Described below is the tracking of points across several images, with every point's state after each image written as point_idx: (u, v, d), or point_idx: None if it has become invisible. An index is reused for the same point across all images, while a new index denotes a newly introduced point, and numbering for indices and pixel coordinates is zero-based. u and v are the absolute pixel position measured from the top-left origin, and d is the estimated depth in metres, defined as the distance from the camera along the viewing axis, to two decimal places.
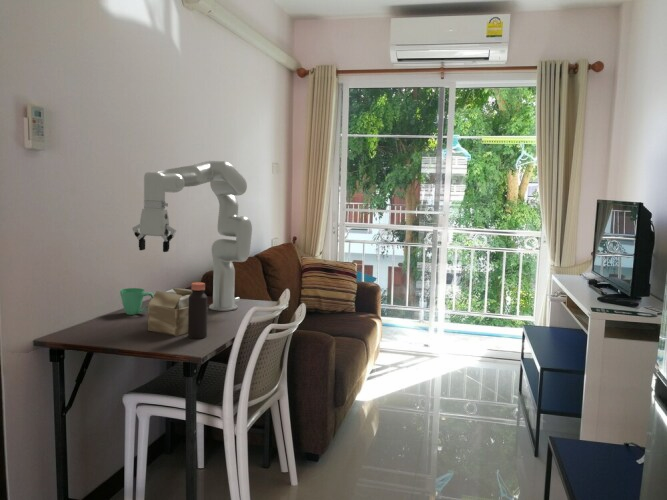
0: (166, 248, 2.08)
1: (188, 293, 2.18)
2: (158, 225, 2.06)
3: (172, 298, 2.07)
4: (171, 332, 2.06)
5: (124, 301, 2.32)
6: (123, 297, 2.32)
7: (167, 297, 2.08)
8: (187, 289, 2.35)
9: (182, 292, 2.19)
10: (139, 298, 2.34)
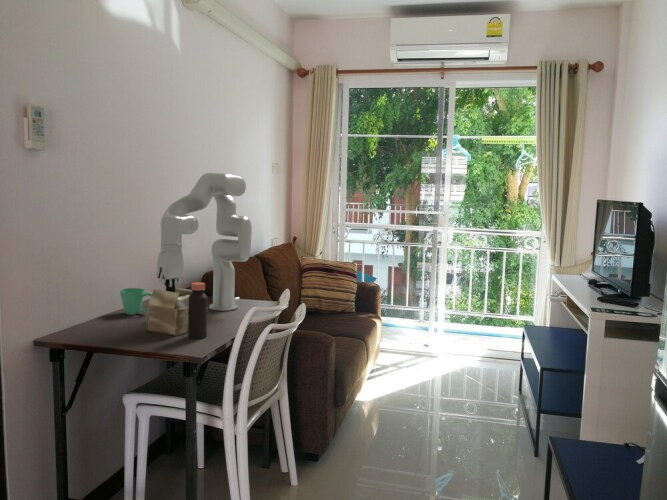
0: None
1: (188, 293, 2.18)
2: (181, 267, 2.11)
3: (170, 297, 2.06)
4: (171, 332, 2.06)
5: (124, 301, 2.32)
6: (123, 297, 2.32)
7: (165, 296, 2.07)
8: (187, 289, 2.35)
9: (182, 292, 2.19)
10: (139, 298, 2.34)
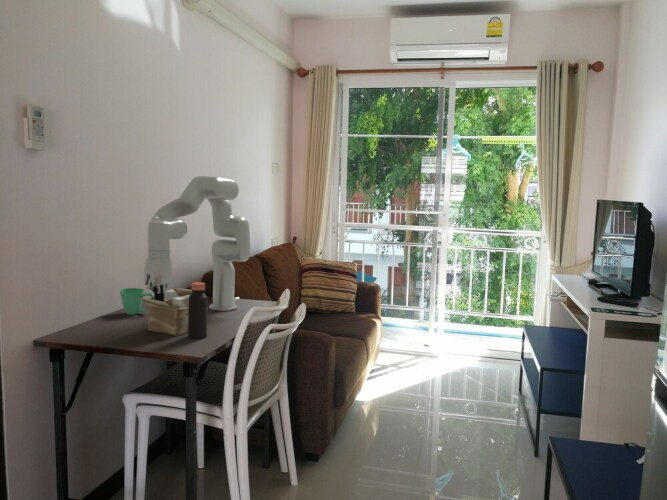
0: None
1: (188, 293, 2.18)
2: (169, 273, 2.05)
3: (160, 304, 2.02)
4: (171, 332, 2.06)
5: (124, 301, 2.32)
6: (123, 297, 2.32)
7: (155, 303, 2.03)
8: (187, 289, 2.35)
9: (182, 292, 2.19)
10: None
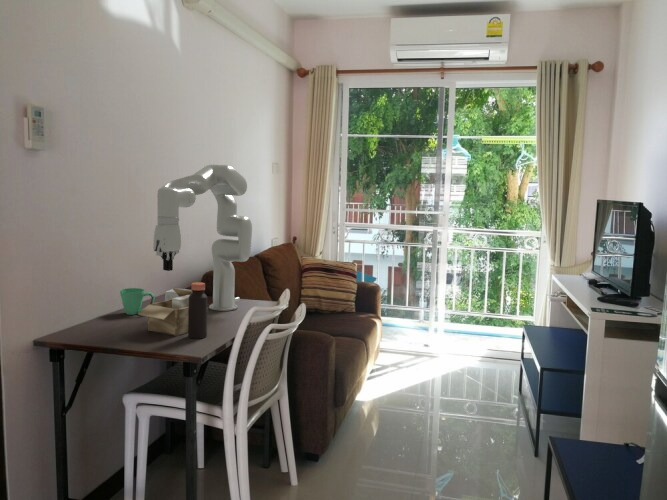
0: None
1: (188, 293, 2.18)
2: (178, 240, 2.08)
3: None
4: (171, 332, 2.06)
5: (124, 301, 2.32)
6: (123, 297, 2.32)
7: None
8: (187, 289, 2.35)
9: (182, 292, 2.19)
10: (139, 298, 2.34)
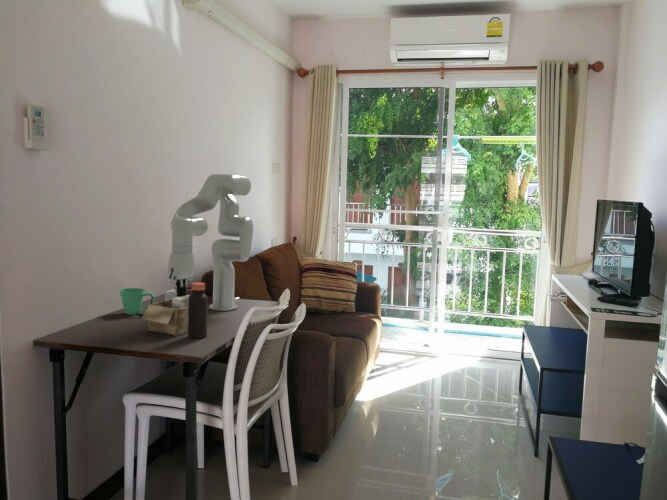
0: None
1: (188, 292, 2.18)
2: (191, 268, 2.16)
3: None
4: (171, 332, 2.06)
5: (124, 301, 2.32)
6: (123, 297, 2.32)
7: None
8: None
9: None
10: (139, 298, 2.34)
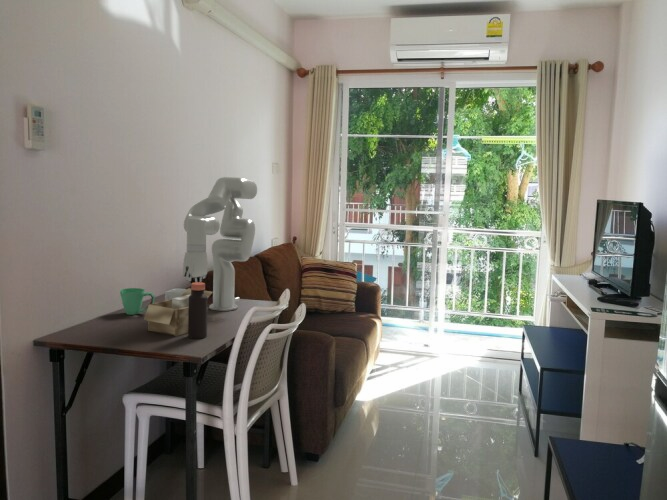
0: None
1: None
2: (205, 266, 2.23)
3: None
4: (171, 332, 2.06)
5: (124, 301, 2.32)
6: (123, 297, 2.32)
7: None
8: None
9: None
10: (139, 298, 2.34)
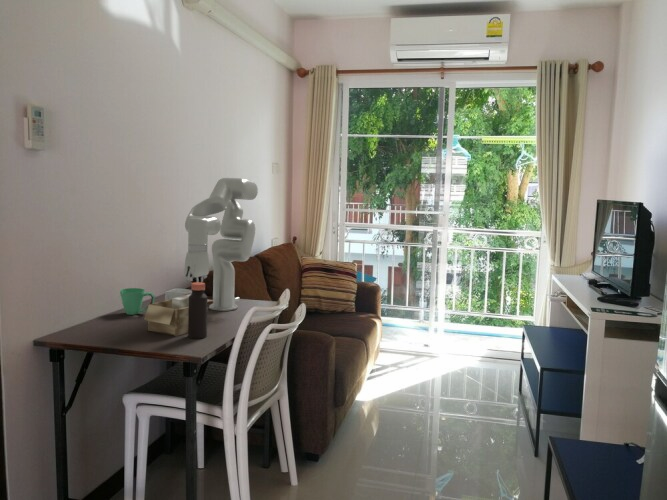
0: None
1: None
2: (206, 266, 2.24)
3: None
4: (171, 332, 2.06)
5: (124, 301, 2.32)
6: (123, 297, 2.32)
7: None
8: (187, 289, 2.35)
9: None
10: (139, 298, 2.34)
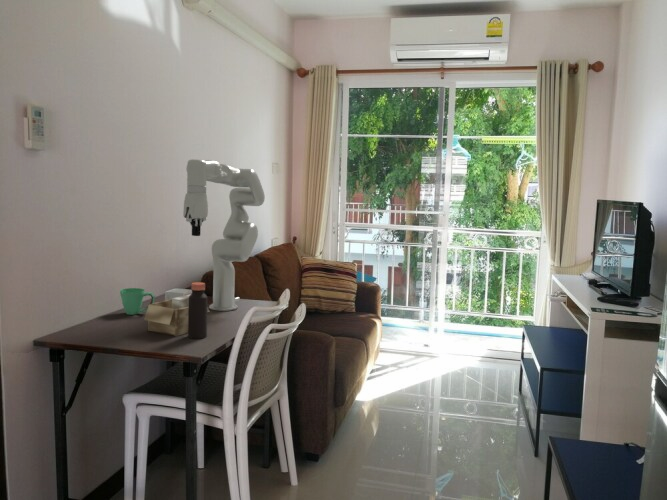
0: None
1: None
2: (205, 208, 2.26)
3: None
4: (171, 332, 2.06)
5: (124, 301, 2.32)
6: (123, 297, 2.32)
7: None
8: (187, 289, 2.35)
9: None
10: (139, 298, 2.34)
